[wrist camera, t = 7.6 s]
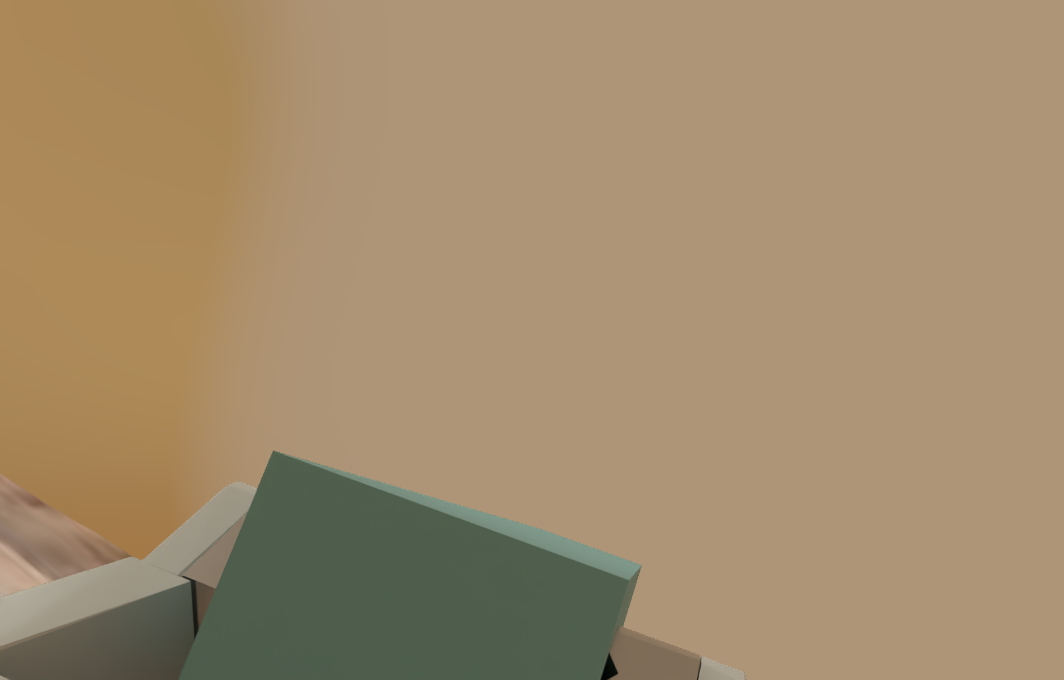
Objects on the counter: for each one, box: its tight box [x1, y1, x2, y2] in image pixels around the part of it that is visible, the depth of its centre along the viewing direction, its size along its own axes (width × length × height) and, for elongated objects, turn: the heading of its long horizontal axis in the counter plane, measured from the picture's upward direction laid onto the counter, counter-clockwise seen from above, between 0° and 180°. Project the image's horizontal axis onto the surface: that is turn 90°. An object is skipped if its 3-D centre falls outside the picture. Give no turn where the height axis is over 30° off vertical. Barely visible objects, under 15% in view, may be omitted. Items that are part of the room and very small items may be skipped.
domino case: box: [178, 451, 641, 680], centre depth 16 cm, size 20×4×4 cm, turn 168°
